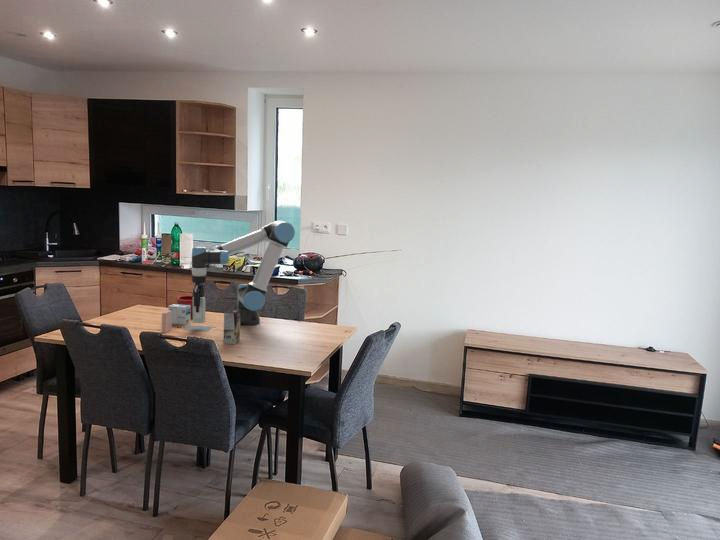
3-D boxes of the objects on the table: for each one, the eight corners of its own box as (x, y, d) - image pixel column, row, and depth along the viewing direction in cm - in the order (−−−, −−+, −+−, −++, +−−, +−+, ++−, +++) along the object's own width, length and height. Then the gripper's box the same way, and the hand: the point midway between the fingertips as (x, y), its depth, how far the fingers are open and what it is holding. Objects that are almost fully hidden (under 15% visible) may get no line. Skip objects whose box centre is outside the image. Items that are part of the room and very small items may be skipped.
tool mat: (213, 327, 309) (213, 326, 308) (207, 332, 297) (207, 331, 297) (188, 326, 309) (188, 325, 309) (181, 331, 297) (181, 330, 297)
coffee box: (235, 344, 276) (236, 313, 274) (222, 343, 276) (223, 312, 274) (240, 340, 285) (240, 309, 283) (227, 339, 285) (228, 309, 283)
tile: (171, 330, 298) (171, 310, 297) (165, 333, 289) (165, 313, 288) (167, 329, 298) (167, 310, 297) (161, 333, 289) (161, 313, 288)
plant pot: (172, 317, 329) (172, 297, 327) (186, 313, 341) (187, 294, 339) (189, 320, 324) (190, 300, 323) (204, 316, 336) (204, 297, 335)
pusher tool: (205, 321, 304) (205, 297, 302) (203, 323, 301) (203, 298, 299) (194, 321, 304) (194, 296, 302) (192, 322, 301) (192, 297, 299)
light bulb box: (190, 323, 316) (191, 304, 315) (185, 325, 310) (186, 307, 308) (173, 321, 317) (173, 303, 316) (167, 324, 311) (168, 305, 309)
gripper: (196, 272, 307) (196, 313, 310) (187, 276, 291) (187, 320, 294) (210, 273, 307) (210, 314, 310) (201, 277, 291) (201, 320, 294)
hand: (199, 317), depth 302 cm, fingers closed on pusher tool, 3 cm apart
